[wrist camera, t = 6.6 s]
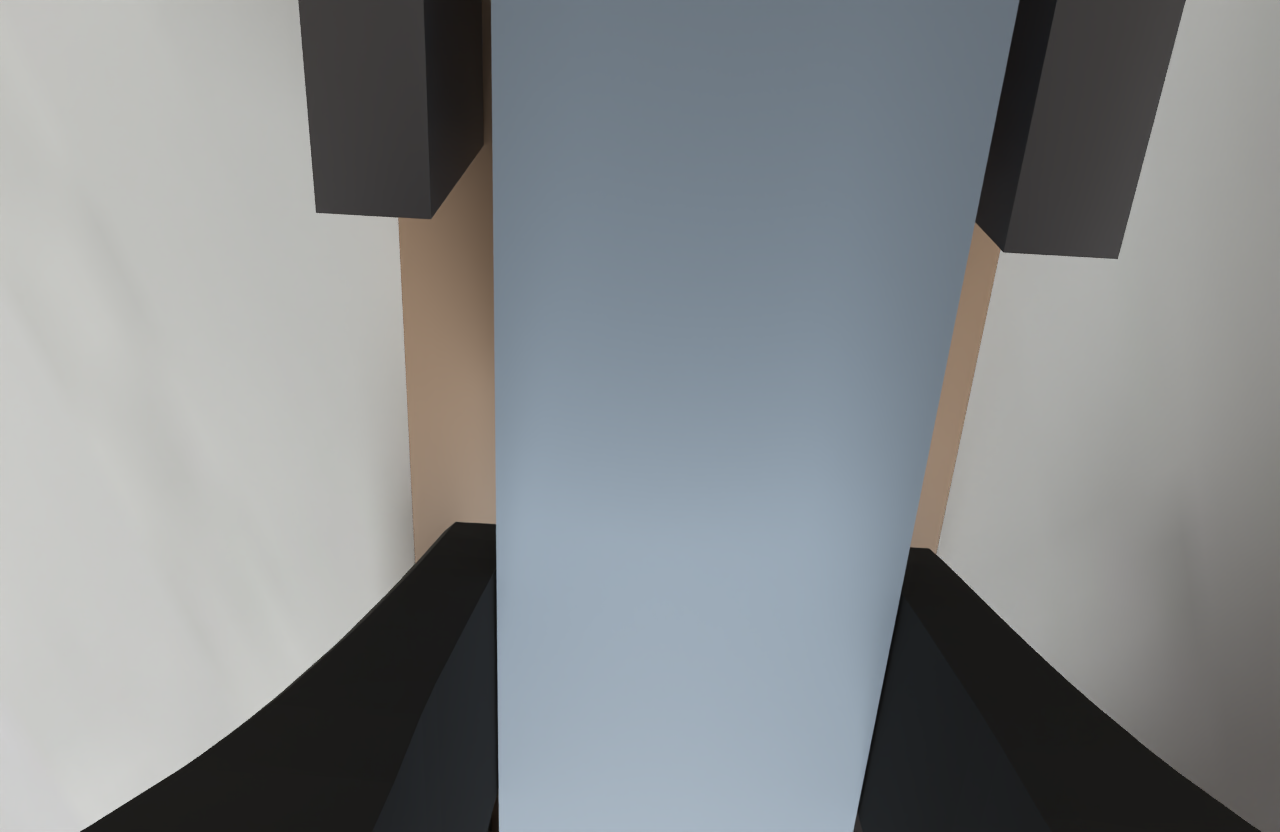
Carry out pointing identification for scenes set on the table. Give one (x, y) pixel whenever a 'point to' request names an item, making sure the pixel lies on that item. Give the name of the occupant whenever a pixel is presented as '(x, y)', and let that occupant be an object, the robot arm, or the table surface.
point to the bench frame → (463, 199)
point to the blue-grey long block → (718, 388)
